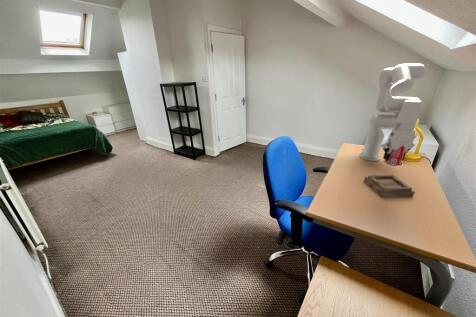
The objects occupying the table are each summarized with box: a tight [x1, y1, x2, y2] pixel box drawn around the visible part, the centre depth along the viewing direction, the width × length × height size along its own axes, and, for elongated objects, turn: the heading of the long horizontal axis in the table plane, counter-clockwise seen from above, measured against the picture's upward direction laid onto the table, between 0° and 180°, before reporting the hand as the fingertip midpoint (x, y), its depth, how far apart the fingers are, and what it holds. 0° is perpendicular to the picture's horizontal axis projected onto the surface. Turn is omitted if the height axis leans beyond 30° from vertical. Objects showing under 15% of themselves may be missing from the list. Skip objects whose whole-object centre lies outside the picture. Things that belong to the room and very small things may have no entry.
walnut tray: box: [363, 174, 415, 199], centre depth 110 cm, size 16×16×4 cm
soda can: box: [383, 145, 406, 167], centre depth 103 cm, size 7×7×12 cm
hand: (393, 159), depth 104 cm, fingers closed on soda can, 7 cm apart
